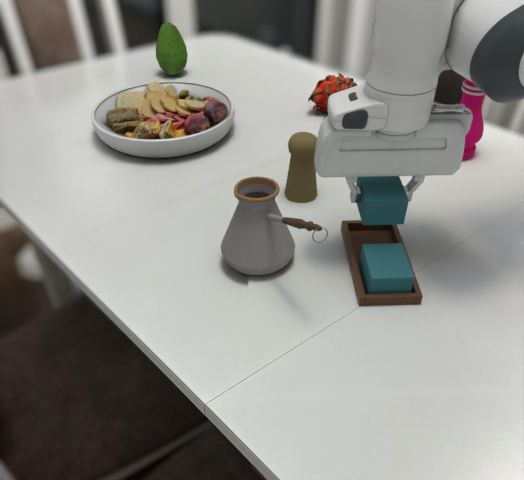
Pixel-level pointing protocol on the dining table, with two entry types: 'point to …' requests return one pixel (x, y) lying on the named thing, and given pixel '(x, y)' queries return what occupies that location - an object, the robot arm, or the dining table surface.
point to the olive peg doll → (301, 168)
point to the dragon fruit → (329, 90)
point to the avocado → (171, 50)
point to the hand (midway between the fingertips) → (379, 200)
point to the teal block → (385, 269)
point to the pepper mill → (474, 102)
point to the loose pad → (382, 200)
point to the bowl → (163, 118)
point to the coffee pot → (260, 229)
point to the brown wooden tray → (353, 242)
